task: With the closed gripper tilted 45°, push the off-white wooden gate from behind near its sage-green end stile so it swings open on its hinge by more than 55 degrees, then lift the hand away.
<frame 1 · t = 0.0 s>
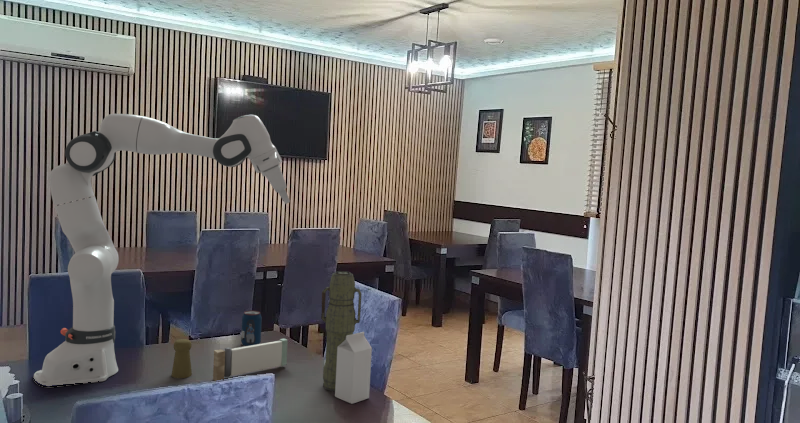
hand: (286, 201, 199), 54 cm above the table, tool tilted 30°, fingers open, 8 cm apart
thermos: (336, 386, 190), on the table
cork: (181, 375, 192), on the table
soda can: (250, 345, 227), on the table
gate: (256, 356, 198), point 5 cm above the table, hinge at 0.0°
milk carton: (351, 398, 181), on the table
gate post: (218, 379, 189), on the table
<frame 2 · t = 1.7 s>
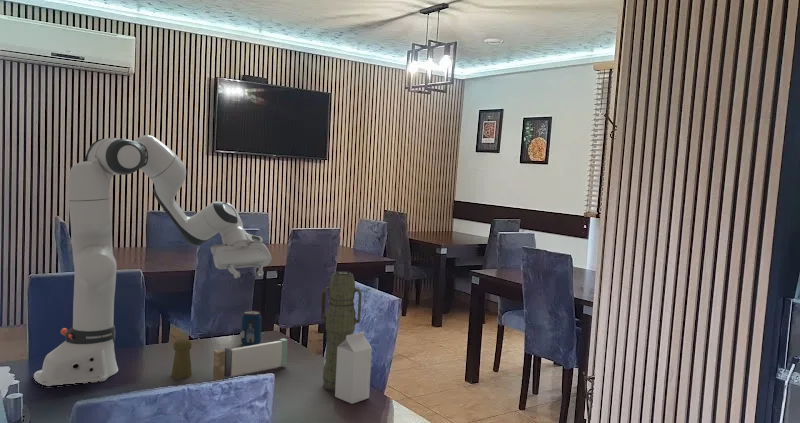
hand: (249, 276, 213), 27 cm above the table, tool tilted 45°, fingers open, 7 cm apart
nothing on the table moved.
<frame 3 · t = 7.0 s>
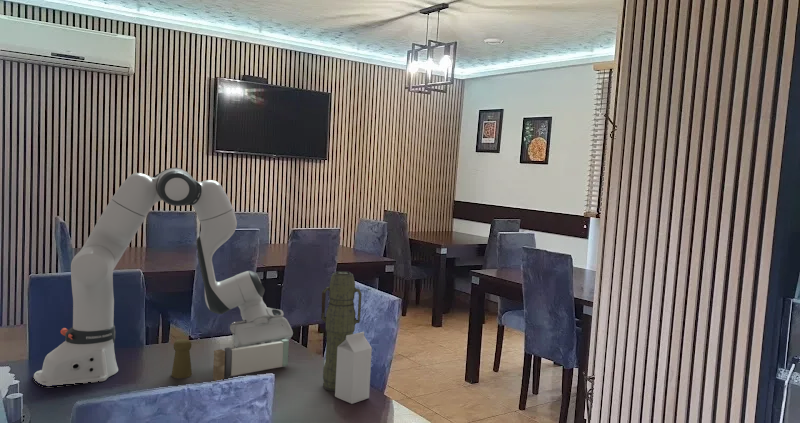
hand: (271, 355, 202), 4 cm above the table, tool tilted 45°, fingers closed, pressing on gate
gate: (256, 357, 197), point 5 cm above the table, hinge at 2.4°, touching gripper
everything else where it was.
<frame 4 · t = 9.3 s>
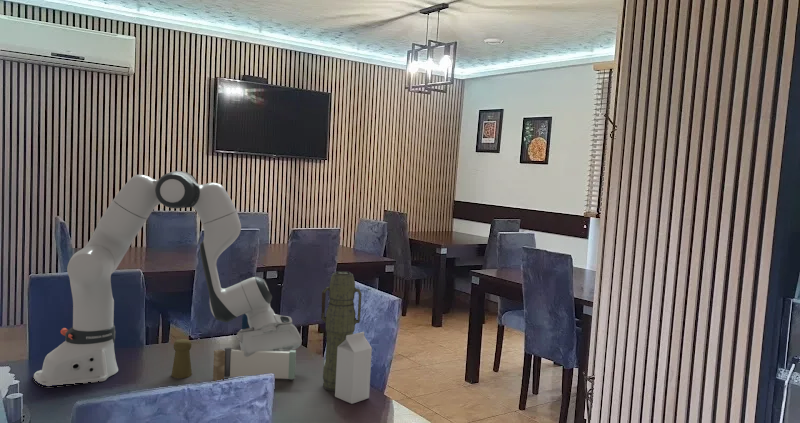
hand: (279, 364, 194), 4 cm above the table, tool tilted 45°, fingers closed
gate: (259, 363, 192), point 5 cm above the table, hinge at 38.3°, touching gripper
everything else where it was.
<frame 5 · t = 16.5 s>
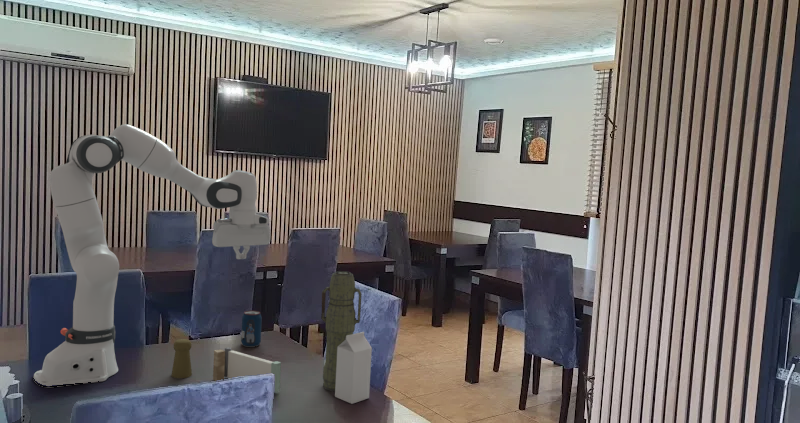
hand: (241, 258, 213), 33 cm above the table, tool pointing down, fingers closed
gate: (250, 369, 186), point 5 cm above the table, hinge at 73.6°
everything else where it was.
at the end: gate at +74° (first picture: +0°) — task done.
